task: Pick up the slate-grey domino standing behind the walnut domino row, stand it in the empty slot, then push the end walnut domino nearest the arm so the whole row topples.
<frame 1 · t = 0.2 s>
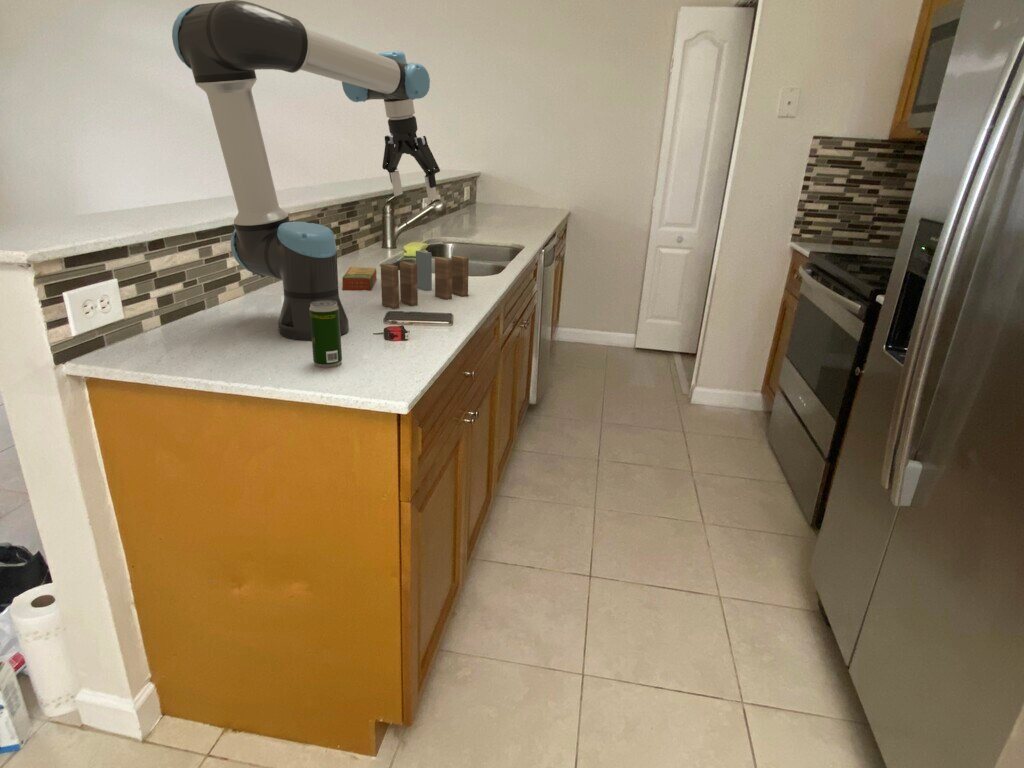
hand: (415, 197, 177), 26 cm above the worktop, tool pointing down, fingers open, 13 cm apart
domino 5: (459, 294, 181), on the worktop
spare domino: (423, 288, 186), on the worktop
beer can: (328, 364, 121), on the worktop
domino 1: (390, 306, 164), on the worktop
domino 2: (409, 303, 168), on the worktop
domino 4: (443, 297, 177), on the worktop
carton: (360, 286, 189), on the worktop
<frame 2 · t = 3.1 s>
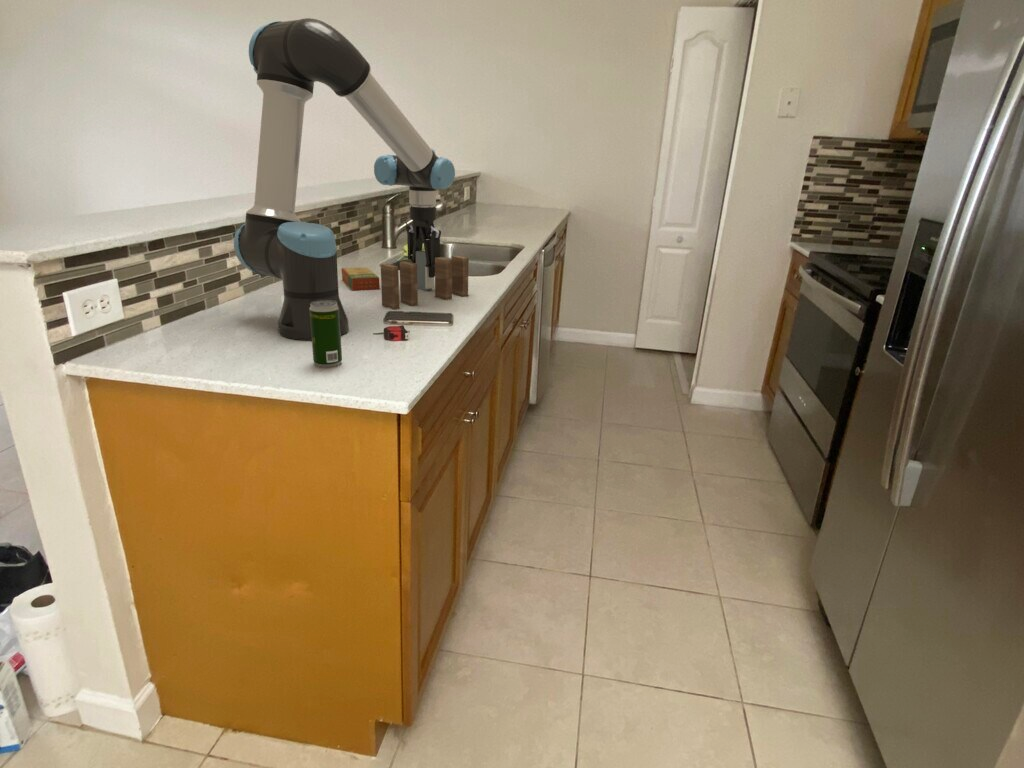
hand: (423, 286, 186), 1 cm above the worktop, tool pointing down, fingers closed on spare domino, 5 cm apart
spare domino: (424, 288, 186), on the worktop, touching gripper
when the fingers open (2 cm above the worktop, at t = 8.4 s): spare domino stays where it is, on the worktop.
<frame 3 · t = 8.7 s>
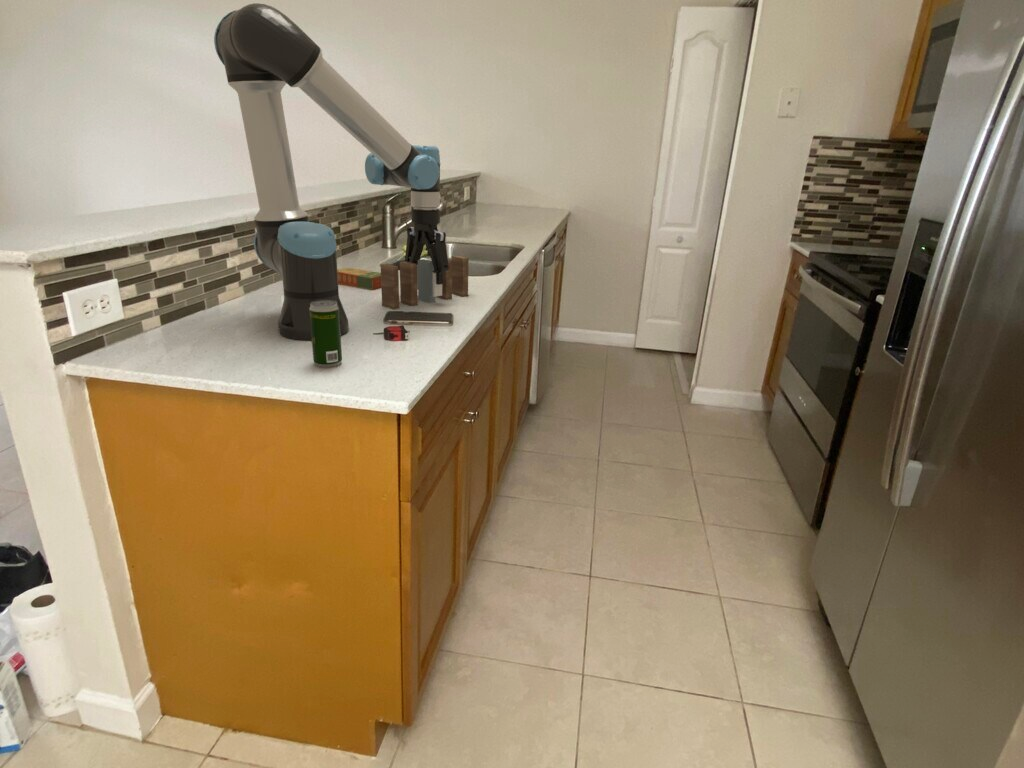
hand: (426, 292, 172), 2 cm above the worktop, tool pointing down, fingers open, 9 cm apart
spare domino: (426, 300, 173), on the worktop
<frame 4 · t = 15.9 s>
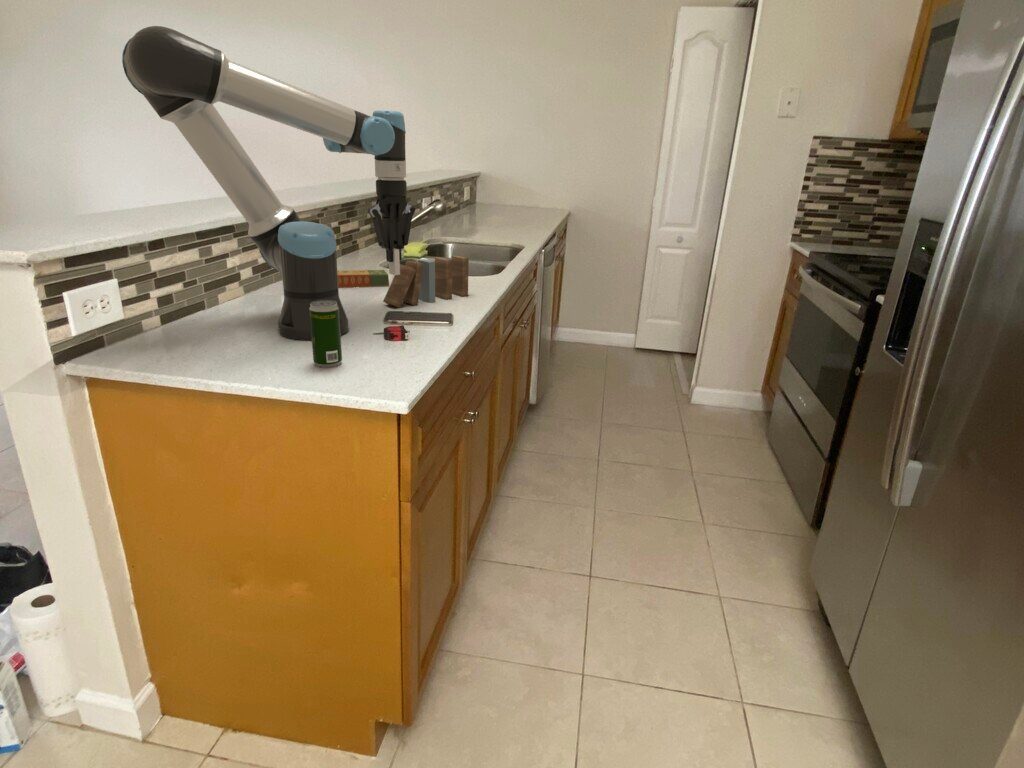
hand: (394, 273, 162), 9 cm above the worktop, tool pointing down, fingers closed
domino 1: (391, 304, 164), on the worktop, tilted 31°
domino 2: (409, 303, 168), on the worktop, tilted 11°
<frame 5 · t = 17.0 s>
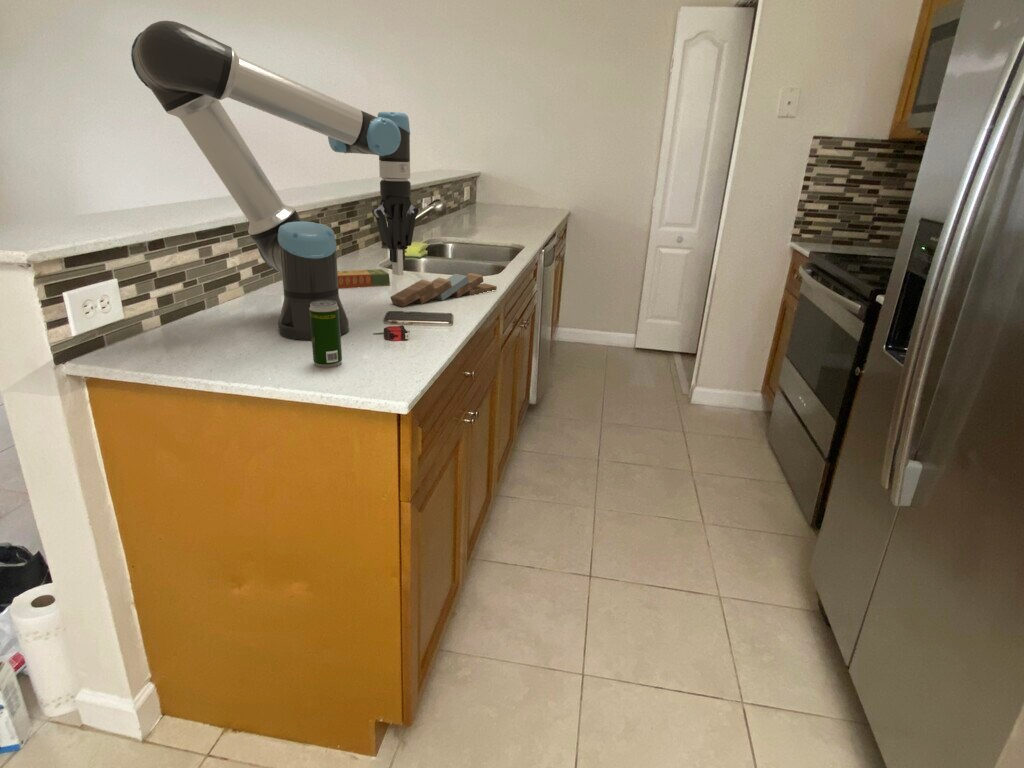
hand: (397, 274, 163), 8 cm above the worktop, tool pointing down, fingers closed
domino 5: (463, 292, 182), on the worktop, tilted 90°, touching domino 4
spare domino: (435, 295, 174), point 1 cm above the worktop, tilted 70°, touching domino 4
domino 1: (396, 302, 166), point 1 cm above the worktop, tilted 71°, touching domino 2
domino 2: (415, 299, 170), point 1 cm above the worktop, tilted 71°, touching domino 1
domino 4: (451, 293, 178), point 1 cm above the worktop, tilted 73°, touching domino 5, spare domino
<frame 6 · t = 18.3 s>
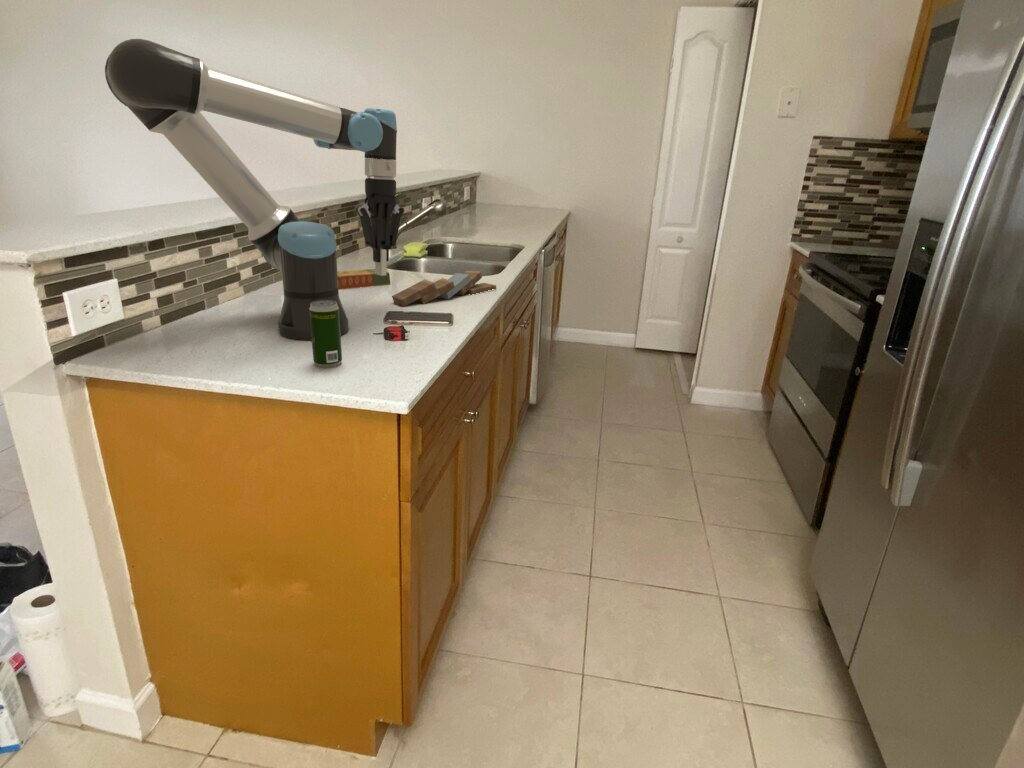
hand: (380, 274, 160), 9 cm above the worktop, tool pointing down, fingers closed
domino 5: (465, 292, 183), on the worktop, tilted 90°
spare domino: (441, 294, 175), point 1 cm above the worktop, tilted 71°, touching domino 2, domino 4
domino 2: (417, 298, 170), point 1 cm above the worktop, tilted 72°, touching domino 1, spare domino
domino 4: (454, 291, 180), point 1 cm above the worktop, tilted 72°, touching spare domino
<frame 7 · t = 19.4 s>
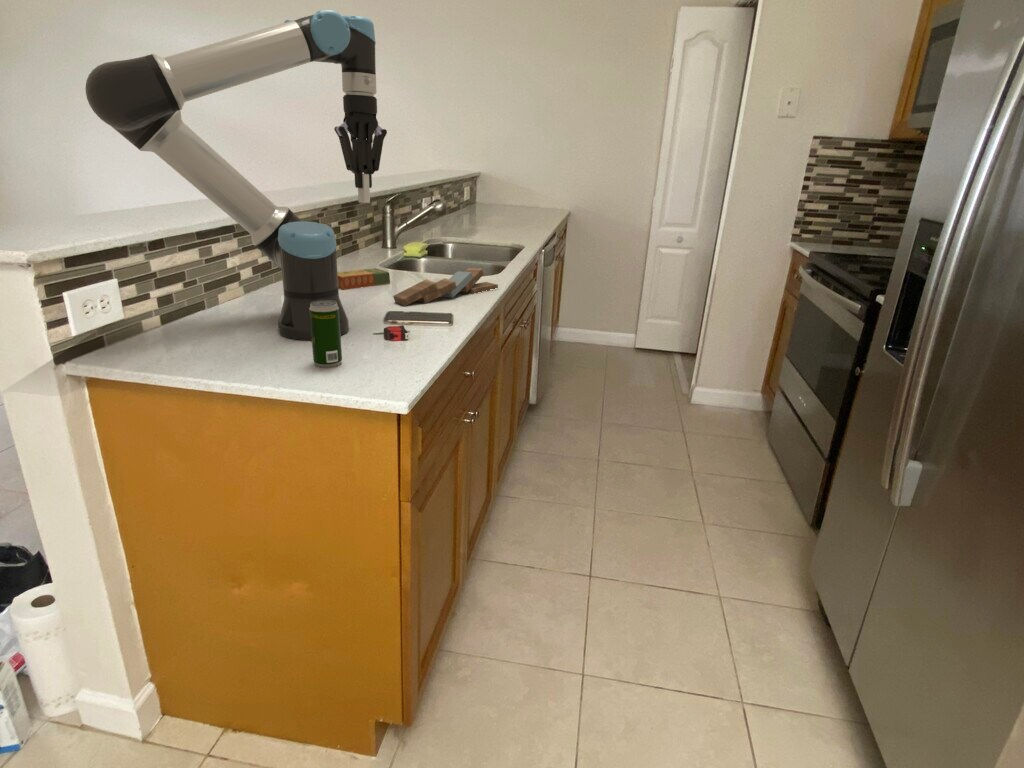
hand: (364, 202, 150), 27 cm above the worktop, tool pointing down, fingers closed
domino 5: (466, 291, 184), on the worktop, tilted 90°, touching domino 4
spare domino: (444, 294, 176), point 1 cm above the worktop, tilted 69°
domino 2: (419, 298, 171), point 1 cm above the worktop, tilted 73°, touching domino 1
domino 4: (458, 288, 181), point 1 cm above the worktop, tilted 71°, touching domino 5
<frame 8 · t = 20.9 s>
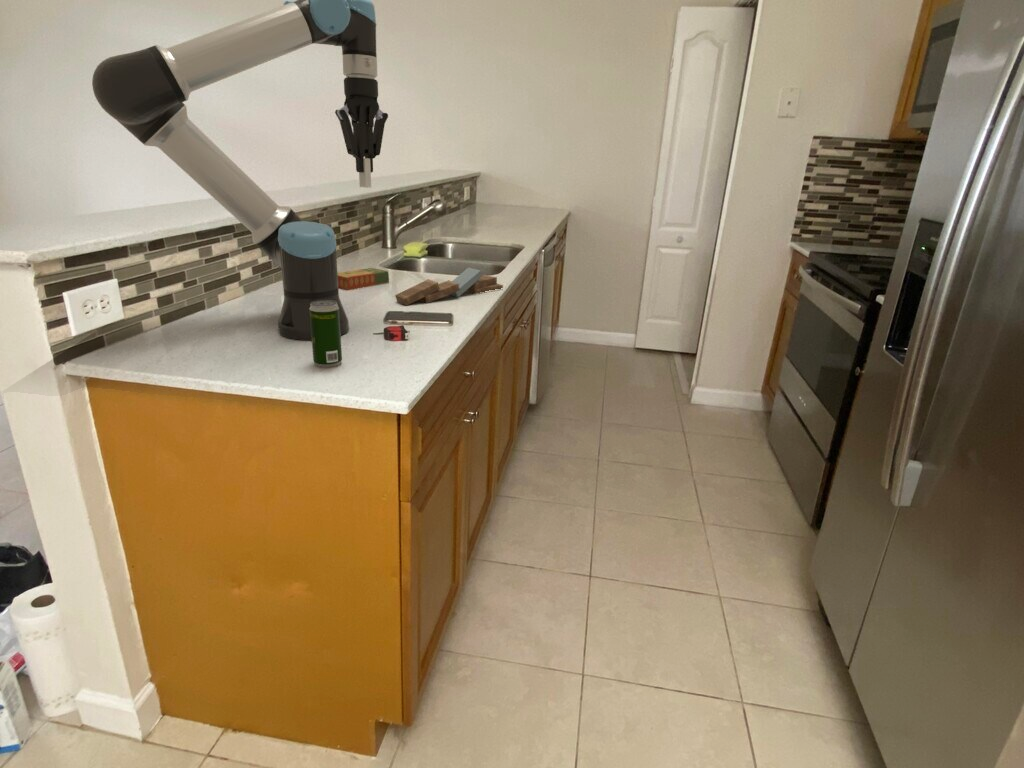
hand: (365, 186, 149), 30 cm above the worktop, tool pointing down, fingers closed
domino 5: (469, 291, 184), on the worktop, tilted 90°, touching domino 4
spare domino: (450, 292, 178), point 1 cm above the worktop, tilted 64°, touching domino 2, domino 4
domino 1: (400, 300, 168), point 1 cm above the worktop, tilted 72°, touching domino 2
domino 2: (421, 298, 171), point 1 cm above the worktop, tilted 77°, touching domino 1, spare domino
domino 4: (468, 284, 183), point 2 cm above the worktop, tilted 90°, touching domino 5, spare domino
at the end: domino 5 tilted 90°; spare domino tilted 64°; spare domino inside the target area (4.7 cm from its centre), point 0.9 cm above the worktop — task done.
